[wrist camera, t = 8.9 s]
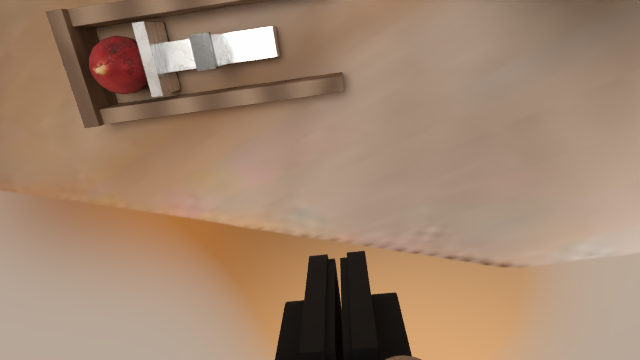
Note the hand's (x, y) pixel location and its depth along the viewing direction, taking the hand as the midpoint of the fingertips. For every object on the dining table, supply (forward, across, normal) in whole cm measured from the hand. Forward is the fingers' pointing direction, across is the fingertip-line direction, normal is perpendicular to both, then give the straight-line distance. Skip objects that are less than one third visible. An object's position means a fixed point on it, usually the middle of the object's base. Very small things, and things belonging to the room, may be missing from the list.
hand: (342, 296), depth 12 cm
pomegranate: (+37, +22, -7) cm, 44 cm away
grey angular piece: (+37, +12, -7) cm, 39 cm away
